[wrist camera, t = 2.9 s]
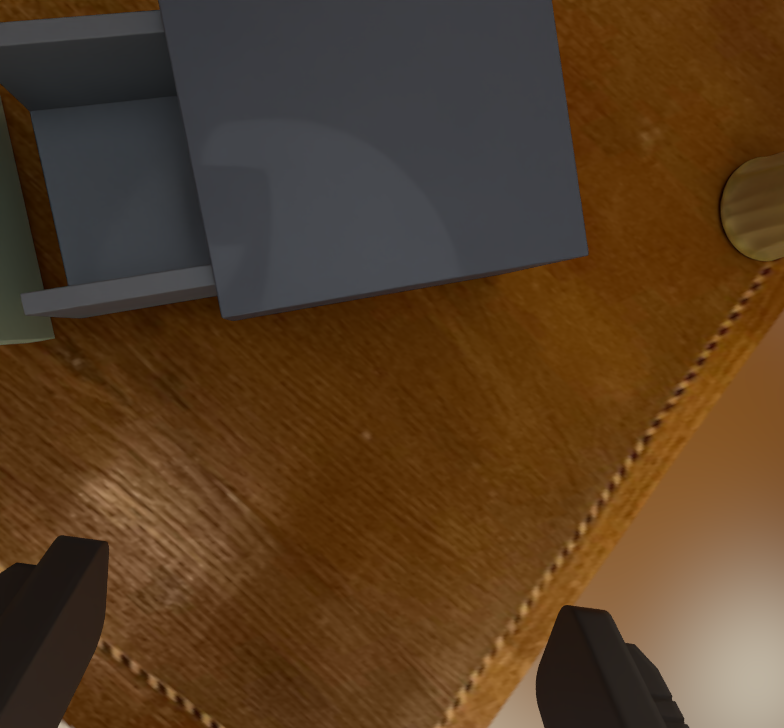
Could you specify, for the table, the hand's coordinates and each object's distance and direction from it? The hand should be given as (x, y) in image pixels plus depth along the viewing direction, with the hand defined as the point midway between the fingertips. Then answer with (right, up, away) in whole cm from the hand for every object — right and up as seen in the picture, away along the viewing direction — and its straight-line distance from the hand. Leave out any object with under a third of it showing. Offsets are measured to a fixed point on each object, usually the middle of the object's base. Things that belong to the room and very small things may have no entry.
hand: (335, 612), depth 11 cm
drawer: (-12, +12, +19) cm, 25 cm away
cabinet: (-1, +14, +22) cm, 26 cm away
